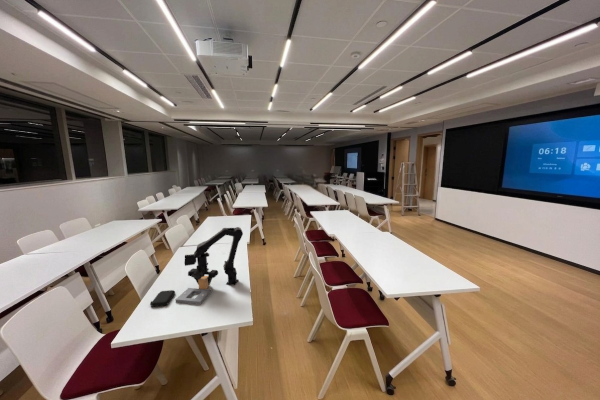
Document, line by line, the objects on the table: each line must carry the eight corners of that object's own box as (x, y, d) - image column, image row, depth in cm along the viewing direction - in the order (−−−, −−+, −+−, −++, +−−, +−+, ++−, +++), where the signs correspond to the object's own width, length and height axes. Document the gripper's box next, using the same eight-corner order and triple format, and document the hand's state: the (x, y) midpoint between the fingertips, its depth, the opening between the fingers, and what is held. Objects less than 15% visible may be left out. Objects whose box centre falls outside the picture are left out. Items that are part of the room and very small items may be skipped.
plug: (203, 285, 161) (203, 275, 160) (209, 285, 161) (208, 276, 160) (198, 289, 156) (198, 280, 154) (204, 290, 155) (203, 280, 154)
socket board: (188, 290, 155) (188, 287, 154) (211, 292, 152) (211, 289, 152) (175, 302, 142) (175, 299, 142) (200, 304, 140) (199, 301, 139)
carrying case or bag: (158, 294, 151) (147, 308, 136) (158, 290, 150) (147, 304, 136) (176, 293, 152) (167, 307, 138) (175, 288, 152) (166, 302, 138)
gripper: (181, 267, 149) (183, 290, 151) (209, 269, 146) (210, 292, 149) (192, 260, 160) (193, 281, 162) (217, 261, 157) (219, 283, 160)
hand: (204, 284), depth 158 cm, fingers open, 7 cm apart
